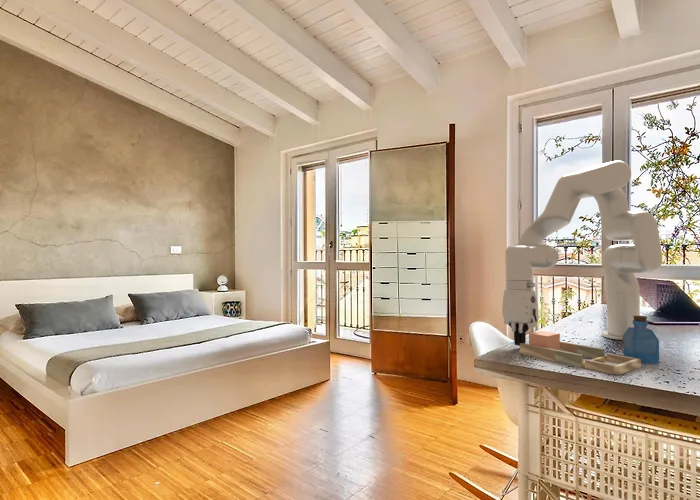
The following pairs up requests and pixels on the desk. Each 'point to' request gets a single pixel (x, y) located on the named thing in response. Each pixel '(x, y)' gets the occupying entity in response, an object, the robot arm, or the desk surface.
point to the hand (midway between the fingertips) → (519, 344)
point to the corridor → (576, 352)
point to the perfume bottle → (641, 342)
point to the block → (545, 339)
